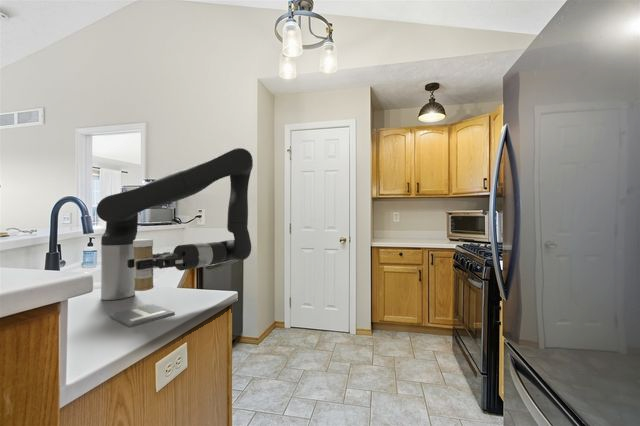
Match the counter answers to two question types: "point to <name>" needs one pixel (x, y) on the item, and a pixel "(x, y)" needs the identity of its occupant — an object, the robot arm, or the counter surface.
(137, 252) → the spice jar
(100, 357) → the counter surface
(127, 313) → the letter mat
